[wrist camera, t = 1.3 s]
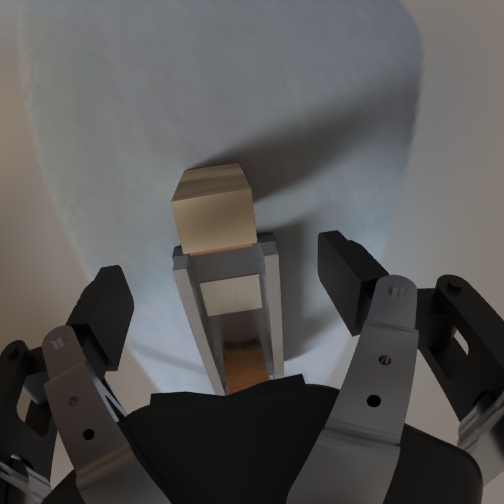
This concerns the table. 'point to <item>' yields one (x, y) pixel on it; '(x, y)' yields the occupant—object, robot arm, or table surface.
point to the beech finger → (214, 210)
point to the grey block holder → (234, 312)
